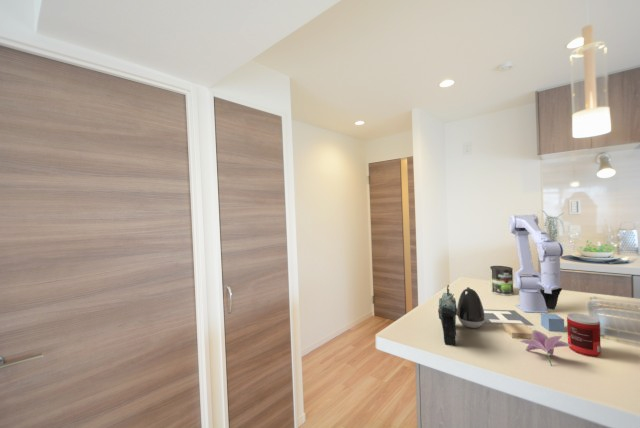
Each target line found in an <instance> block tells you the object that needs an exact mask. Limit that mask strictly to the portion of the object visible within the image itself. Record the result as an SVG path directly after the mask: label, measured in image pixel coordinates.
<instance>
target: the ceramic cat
mask: <svg viewBox="0 0 640 428" xmlns="http://www.w3.org/2000/svg"><path fill="white" fill-rule="evenodd" d="M449 287H450V285H449V284H447V285H446V292H443V293H442V296H441V297H440V298H439V299H438V301H439V302H438V309H437V312H438V319H439V320H440V323H441V327H442V332H443V333H442V335H443V342H444V345H446V346H452V347H456V345H457V344H456V342H457V334H456V333H457V332H456V331H457V328H456V326H457V320H456V319H457V301H456V298H455V297H454V296H455V294H454V293H453V294H452V293H451V292H450V289H449Z"/></svg>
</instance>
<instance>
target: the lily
mask: <svg viewBox="0 0 640 428" xmlns="http://www.w3.org/2000/svg"><path fill="white" fill-rule="evenodd" d="M561 338H562V335H554V336H549V337H548V336H547V334H544V333H543V332H541V331H539V330H537V329H533V332H532V339H522V340H520V341H519V342H521V343H524V344H527V346H526V348H525V351H527V352H528V351H534V350H541V351H544V352H546V355H547V358H548V360H549V363H550V367H553V365H552V361H551V358H550V355H551V356H552V355H554V353H555V348H560V347H569V346H571V345H570V344H568V342H565V341H561V340H560V339H561Z"/></svg>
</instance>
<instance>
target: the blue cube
mask: <svg viewBox="0 0 640 428" xmlns="http://www.w3.org/2000/svg"><path fill="white" fill-rule="evenodd" d="M540 325H541V326H542V327H543V328H544V329H546V330H547V331H548V332H558V333H559V332H560V333H561V332H562V333H565V318H563V317H561V316H559V315H558V314H555V313H540Z"/></svg>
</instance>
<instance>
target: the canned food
mask: <svg viewBox="0 0 640 428" xmlns="http://www.w3.org/2000/svg"><path fill="white" fill-rule="evenodd" d="M600 323H601V322H600V320H599V319H598V318H597V317H595V316H592V315H588V314H584V313H583V314H582V313H579V312H578V313H575V312H573V313H568V314H567V315H566V325H567V326H566V327H567V329H566V330H567V331H566V332H567V343H568V344H570V345H571V346H568V348H569V349H570V350H571V351H573V352H574V353H576V354H579V355H582V356H587V357H592V358H593V357H595V358H597V357H599V356H600V355H601V352H602V350H601V349H602V348H601V347H602V346H601V324H600Z"/></svg>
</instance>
